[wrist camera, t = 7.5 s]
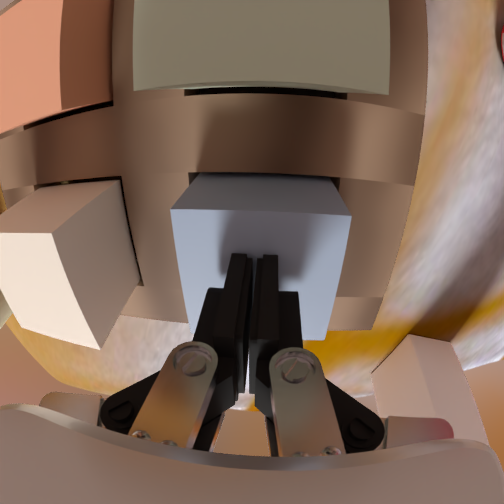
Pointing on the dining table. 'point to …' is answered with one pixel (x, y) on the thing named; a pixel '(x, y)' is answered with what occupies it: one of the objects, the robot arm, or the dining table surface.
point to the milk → (427, 386)
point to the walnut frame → (242, 160)
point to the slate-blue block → (263, 237)
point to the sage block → (262, 44)
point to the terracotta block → (54, 58)
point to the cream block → (68, 261)
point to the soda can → (502, 41)
